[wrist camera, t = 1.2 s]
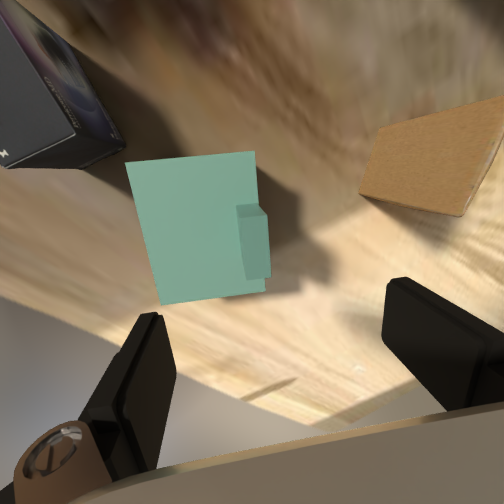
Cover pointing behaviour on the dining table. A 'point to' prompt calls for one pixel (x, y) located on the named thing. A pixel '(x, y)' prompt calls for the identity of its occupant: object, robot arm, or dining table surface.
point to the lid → (202, 225)
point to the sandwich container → (436, 158)
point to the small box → (47, 99)
